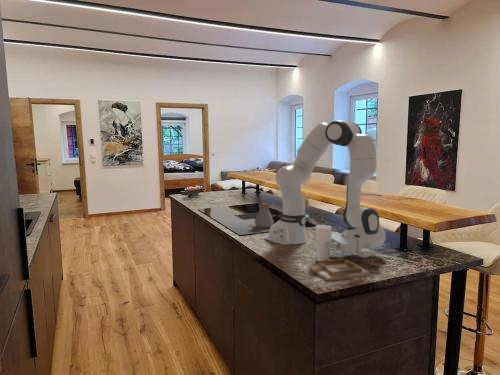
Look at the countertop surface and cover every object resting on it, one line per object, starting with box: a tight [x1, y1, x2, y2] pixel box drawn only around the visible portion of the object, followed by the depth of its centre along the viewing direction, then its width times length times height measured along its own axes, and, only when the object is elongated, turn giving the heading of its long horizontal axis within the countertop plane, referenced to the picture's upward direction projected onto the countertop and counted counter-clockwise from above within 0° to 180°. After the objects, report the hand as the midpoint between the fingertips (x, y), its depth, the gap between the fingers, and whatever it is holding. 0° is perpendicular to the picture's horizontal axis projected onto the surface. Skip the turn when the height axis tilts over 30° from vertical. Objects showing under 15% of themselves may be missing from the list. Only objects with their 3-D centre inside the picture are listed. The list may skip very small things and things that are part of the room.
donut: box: [305, 213, 310, 223], centre depth 229 cm, size 12×12×4 cm
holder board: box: [309, 257, 370, 282], centre depth 143 cm, size 14×18×3 cm
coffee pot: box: [254, 197, 275, 229], centre depth 219 cm, size 21×12×15 cm, turn 9°
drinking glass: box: [314, 224, 333, 262], centre depth 154 cm, size 7×7×15 cm
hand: (321, 242), depth 154 cm, fingers closed on drinking glass, 6 cm apart
